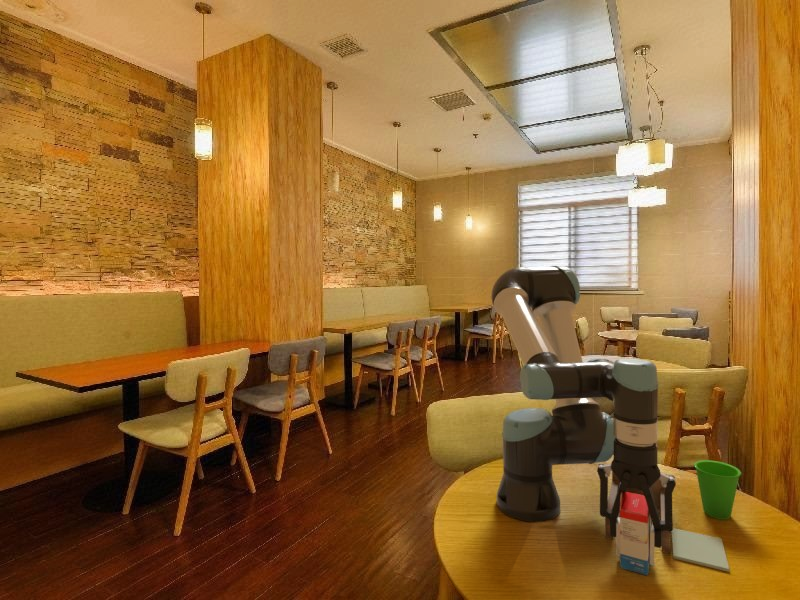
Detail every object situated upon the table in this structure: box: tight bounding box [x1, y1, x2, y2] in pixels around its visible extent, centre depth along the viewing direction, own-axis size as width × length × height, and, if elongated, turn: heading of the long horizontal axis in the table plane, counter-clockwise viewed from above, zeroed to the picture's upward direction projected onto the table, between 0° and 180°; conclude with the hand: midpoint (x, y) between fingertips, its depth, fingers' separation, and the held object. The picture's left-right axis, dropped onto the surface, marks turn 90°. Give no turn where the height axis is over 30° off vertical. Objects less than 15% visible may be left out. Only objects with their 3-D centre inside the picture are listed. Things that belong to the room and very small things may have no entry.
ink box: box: [619, 492, 652, 576], centre depth 87 cm, size 8×5×15 cm, turn 147°
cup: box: [693, 459, 742, 520], centre depth 104 cm, size 9×9×11 cm
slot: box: [604, 471, 671, 554], centre depth 101 cm, size 12×20×8 cm, turn 150°
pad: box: [671, 527, 730, 573], centre depth 91 cm, size 9×11×1 cm
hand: (635, 556), depth 87 cm, fingers closed on ink box, 5 cm apart
